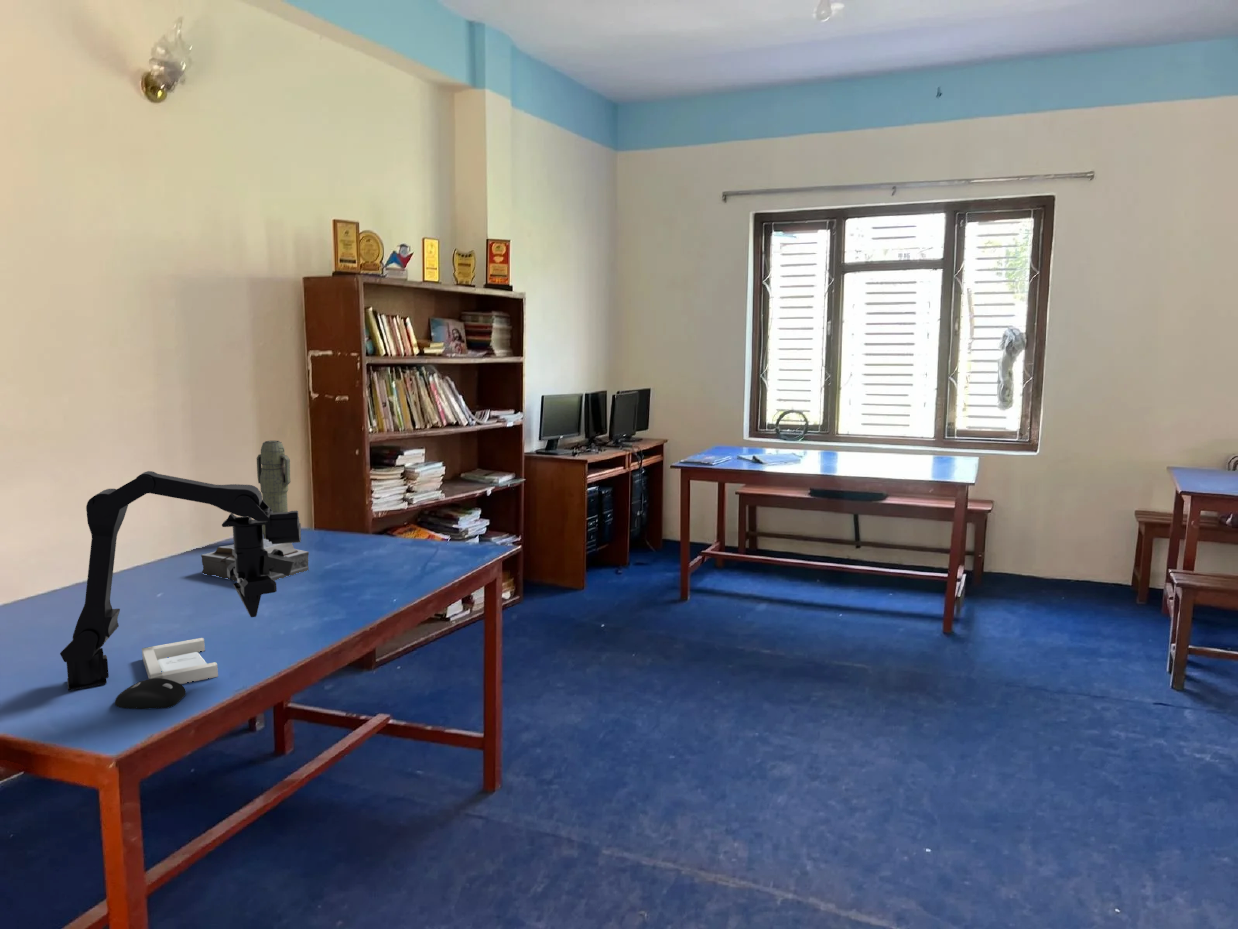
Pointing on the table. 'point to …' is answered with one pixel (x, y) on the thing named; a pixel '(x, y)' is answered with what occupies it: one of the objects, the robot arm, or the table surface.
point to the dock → (178, 649)
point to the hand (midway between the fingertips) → (253, 616)
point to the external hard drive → (181, 662)
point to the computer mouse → (151, 694)
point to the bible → (223, 555)
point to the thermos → (273, 476)
